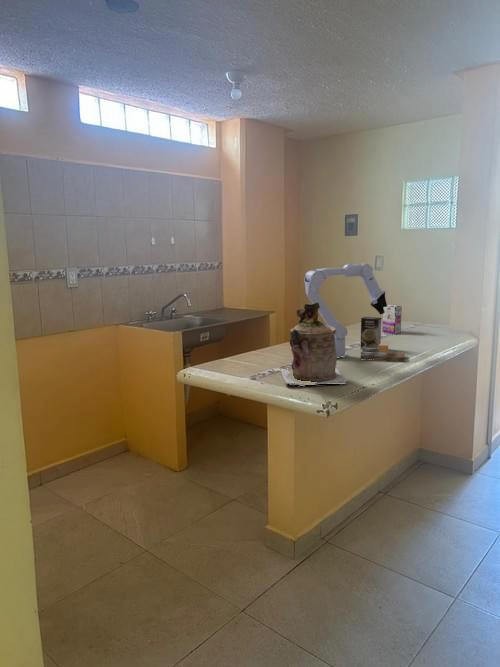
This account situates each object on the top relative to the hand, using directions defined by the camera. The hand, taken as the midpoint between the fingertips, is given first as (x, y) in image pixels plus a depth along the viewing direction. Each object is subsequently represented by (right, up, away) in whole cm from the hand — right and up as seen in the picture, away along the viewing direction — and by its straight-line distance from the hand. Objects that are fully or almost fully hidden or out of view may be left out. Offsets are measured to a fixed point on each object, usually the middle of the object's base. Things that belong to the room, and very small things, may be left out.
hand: (383, 310), depth 240 cm
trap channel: (-3, -23, -7) cm, 24 cm away
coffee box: (-3, -19, +13) cm, 23 cm away
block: (-2, -21, -8) cm, 23 cm away
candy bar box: (+19, -11, +52) cm, 57 cm away
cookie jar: (-39, -30, -37) cm, 62 cm away
